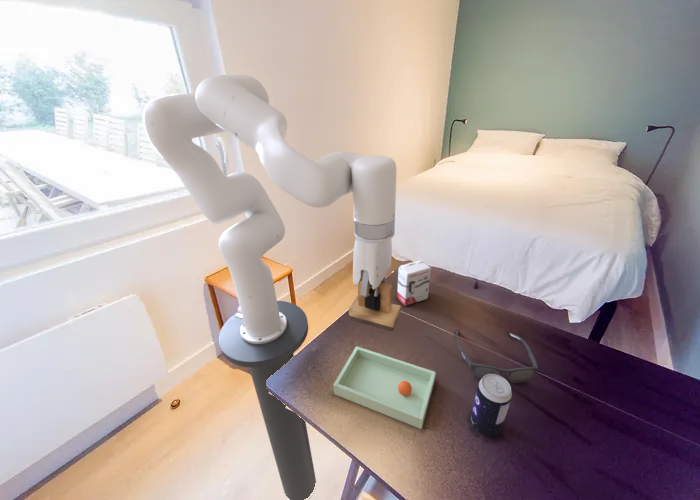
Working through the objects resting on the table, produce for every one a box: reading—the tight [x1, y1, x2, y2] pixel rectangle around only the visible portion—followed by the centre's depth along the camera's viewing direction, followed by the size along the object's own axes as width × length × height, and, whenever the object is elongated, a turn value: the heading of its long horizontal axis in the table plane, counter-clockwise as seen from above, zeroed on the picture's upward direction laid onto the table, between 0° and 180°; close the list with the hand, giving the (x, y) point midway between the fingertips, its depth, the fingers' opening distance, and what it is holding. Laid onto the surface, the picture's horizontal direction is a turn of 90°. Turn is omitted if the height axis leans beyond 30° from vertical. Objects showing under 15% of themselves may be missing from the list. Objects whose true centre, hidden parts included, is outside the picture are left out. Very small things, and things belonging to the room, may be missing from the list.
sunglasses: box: [455, 330, 539, 384], centre depth 76 cm, size 16×17×5 cm
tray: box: [333, 345, 437, 430], centre depth 70 cm, size 20×12×3 cm, turn 65°
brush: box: [348, 280, 402, 332], centre depth 66 cm, size 10×5×10 cm, turn 65°
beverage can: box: [470, 374, 513, 438], centre depth 59 cm, size 6×6×12 cm
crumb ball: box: [398, 381, 412, 396], centre depth 68 cm, size 3×3×3 cm
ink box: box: [396, 259, 432, 307], centre depth 95 cm, size 9×5×12 cm, turn 114°
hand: (374, 304), depth 66 cm, fingers closed on brush
